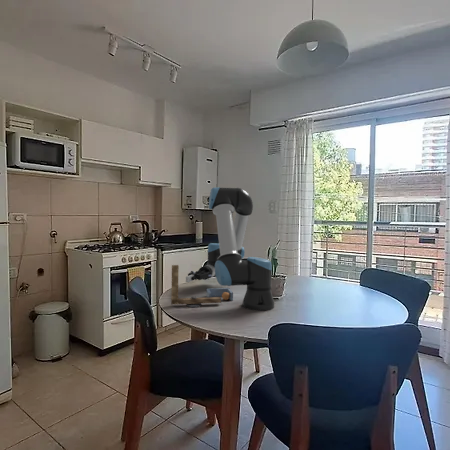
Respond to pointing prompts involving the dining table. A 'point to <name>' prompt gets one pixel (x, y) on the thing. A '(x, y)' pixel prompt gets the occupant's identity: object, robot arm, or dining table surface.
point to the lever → (187, 300)
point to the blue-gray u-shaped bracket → (218, 292)
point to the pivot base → (193, 305)
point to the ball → (225, 295)
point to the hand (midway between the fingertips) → (187, 279)
